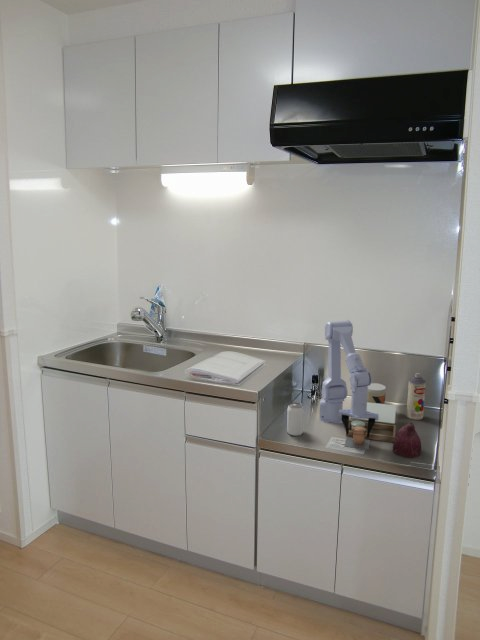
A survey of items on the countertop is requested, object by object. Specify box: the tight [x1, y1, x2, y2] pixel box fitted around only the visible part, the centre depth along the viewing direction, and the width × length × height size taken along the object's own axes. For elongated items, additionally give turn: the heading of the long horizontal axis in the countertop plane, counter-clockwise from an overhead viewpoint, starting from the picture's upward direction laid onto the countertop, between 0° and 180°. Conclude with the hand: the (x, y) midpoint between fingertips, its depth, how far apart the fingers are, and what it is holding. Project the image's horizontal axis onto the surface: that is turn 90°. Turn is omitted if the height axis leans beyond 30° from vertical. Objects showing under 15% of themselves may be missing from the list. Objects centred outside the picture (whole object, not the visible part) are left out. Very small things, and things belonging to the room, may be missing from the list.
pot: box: [352, 426, 366, 445], centre depth 191 cm, size 5×5×6 cm
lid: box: [350, 402, 397, 425], centre depth 208 cm, size 18×10×1 cm, turn 71°
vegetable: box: [392, 421, 422, 459], centre depth 182 cm, size 10×10×15 cm
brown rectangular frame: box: [345, 419, 397, 443], centre depth 203 cm, size 19×20×5 cm
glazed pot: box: [351, 420, 365, 428], centre depth 199 cm, size 5×5×4 cm
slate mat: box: [344, 436, 371, 451], centre depth 191 cm, size 9×8×1 cm
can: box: [286, 401, 305, 437], centre depth 200 cm, size 6×6×12 cm
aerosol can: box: [406, 372, 427, 421], centre depth 212 cm, size 7×7×20 cm
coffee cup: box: [367, 382, 387, 404], centre depth 219 cm, size 9×9×12 cm
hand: (357, 434), depth 190 cm, fingers open, 7 cm apart
